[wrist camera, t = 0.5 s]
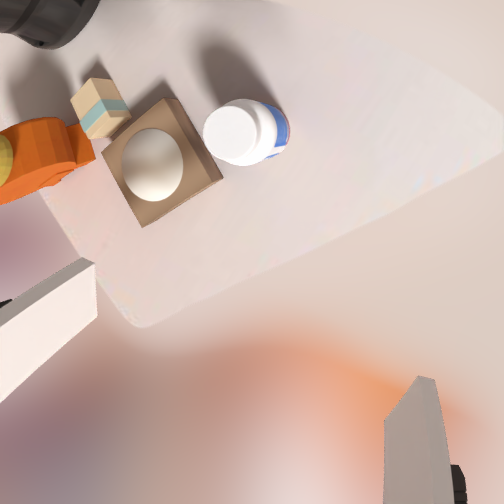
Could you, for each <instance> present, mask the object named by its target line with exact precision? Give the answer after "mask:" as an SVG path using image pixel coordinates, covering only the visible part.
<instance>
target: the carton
mask: <svg viewBox="0 0 504 504" xmlns="http://www.w3.org/2000/svg"><path fill="white" fill-rule="evenodd" d="M70 101H71V103H72V105H73V107H74V110H75V112H76V114H77V116H78V118H79V120H80V125H81V127H82V129H83V131H84V133H86V135H87V137H88V139H95V138H104V137H111V136H112V135H113V134H114V133H115V132H116V131H117V130H118V129H119V128H120V127H121V126H123V125H124V124H125V123H126V122H127V121H128V120H129V119H130V118H132V116H131V114H130V112H129V111H128V108H127V106H126V104H125V102H124V100H123V99H122V97H121V96H120V94H119V92H118V90H117V88H116V86H115V84H114V82H113V80H109V79H100V78H89V80H88V81H87V82H86V83H85V84H84V85H83V86H82V87H81V88H80V89H79V91H78V92H77V93H76V94H75V95H74V96H73V97H72V99H71V100H70Z"/></svg>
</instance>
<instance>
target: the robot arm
mask: <svg viewBox="0 0 504 504" xmlns="http://www.w3.org/2000/svg"><path fill="white" fill-rule="evenodd" d="M99 1H100V0H0V33H9V34H13V35H15V36H17V37H18V38H20V39H22V40H24V41H25V42H27V43H29V44H31V45H32V46H34V47H37V48H42V49H57V48H60V47H62V46H64V45H65V44H67V43H68V42H70V41H71V40H72V39H73V38H75V37H76V36H77V35H78V34H79V33H80V31H81V30H82V29H83V28H84V27H85V25H86V24H87V23H88V21H89V20H90V18H91V17H92V15H93V13H94V11H95V10H96V8H97V6H98V3H99ZM96 317H97V301H96V278H95V263H94V262H91V261H89V260H87V259H85V258H83V257H82V258H80V259H78V260H77V261H75V262H74V263H71V264H70V265H68V266H66V267H65V268H63V269H62V270H60V271H58V272H56V273H55V274H53V275H52V276H50V277H48V278H47V279H45V280H44V281H42V282H40V283H39V284H37V285H36V286H34V287H32V288H31V289H29V290H28V291H26V292H25V293H23V294H21V295H20V296H18V297H17V298H15V299H14V300H12V299H10V300H6V301H3V302H0V403H1V401H3V400H4V399H5V398H6V397H7V396H8V395H9V394H10V393H11V392H12V391H13V390H15V389H16V388H17V387H18V386H19V385H20V384H21V383H22V382H23V381H24V380H25V379H27V377H29V376H30V375H31V374H32V373H33V372H34V371H35V370H36V369H38V368H39V367H40V366H41V365H42V364H43V363H44V362H45V361H46V360H48V359H49V358H50V357H51V356H52V355H53V354H54V353H56V352H57V351H58V350H59V349H60V348H61V347H62V346H64V345H65V344H66V343H67V342H68V341H69V340H70V339H71V338H73V337H74V336H75V335H76V334H77V333H78V332H80V331H81V330H82V329H83V328H84V327H86V326H87V325H88V324H89V323H90V322H91V321H93V320H94V319H95V318H96ZM384 445H385V446H384V449H385V450H384V453H385V454H384V492H383V504H467V493H466V483H465V477H464V475H463V473H462V471H461V469H460V467H459V465H450V459H449V452H448V445H447V439H446V433H445V427H444V422H443V417H442V411H441V406H440V402H439V397H438V393H437V388H436V384H435V380H434V379H431V378H426V377H422V376H418V377H417V378H416V379H415V381H414V382H413V384H412V385H411V386H410V388H409V389H408V391H407V392H406V393H405V394H404V396H403V397H402V398H401V400H400V401H399V403H398V404H397V405H396V406H395V408H394V409H393V410H392V411H391V413H390V414H389V415H388V416H387V418H386V419H385V420H384Z"/></svg>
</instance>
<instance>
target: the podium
mask: <svg viewBox="0 0 504 504" xmlns="http://www.w3.org/2000/svg"><path fill="white" fill-rule="evenodd" d="M101 153H102V155H103V157H104V159H105V161H106V163H107V165H108V167H109V169H110V171H111V173H112V175H113V176H114V178H115V180H116V182H117V184H118V186H119V188H120V189H121V191H122V193H123V195H124V197H125V199H126V200H127V202H128V204H129V206H130V208H131V209H132V211H133V213H134V215H135V216H136V218H137V220H138V222H139V223H140V225H141V227H142V228H143V227H145V226H147V225H149V224H151V223H153V222H154V221H156V220H158V219H159V218H161V217H162V216H164V215H165V214H167V213H168V212H170V211H172V210H173V209H175V208H176V207H178V206H179V205H181V204H182V203H184V202H186V201H187V200H189V199H190V198H192V197H194V196H195V195H197V194H198V193H200V192H202V191H203V190H205V189H206V188H208V187H210V186H211V185H213V184H215V183H216V182H218V181H219V180H221V179H223V176H222V174H221V172H220V171H219V169H218V167H217V166H216V164H215V162H214V160H213V159H212V157H211V155H210V153H209V152H208V150H207V148H206V147H205V145H204V143H203V141H202V140H201V138H200V136H199V135H198V133H197V131H196V129H195V128H194V126H193V124H192V123H191V121H190V119H189V117H188V116H187V114H186V112H185V111H184V109H183V107H182V106H181V104H180V102H179V100H178V99H170V98H163V99H161V100H160V101H159V102H158V103H156V104H155V105H154V106H153V107H151V108H150V109H149V110H148V111H147V112H145V113H144V114H143V115H142V116H141V117H140V118H138V119H137V120H136V121H135V122H134V123H133V124H131V125H130V126H129V127H128V128H127V129H126V130H125V131H124V132H122V133H121V134H120V135H119V136H118V137H117V138H116V139H115V140H114V141H113V142H112V143H111V144H109V145H108V146H107V147H106V148H105V149H104V150H103V151H102V152H101Z"/></svg>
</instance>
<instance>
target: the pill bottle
mask: <svg viewBox="0 0 504 504" xmlns="http://www.w3.org/2000/svg"><path fill="white" fill-rule="evenodd" d="M289 138H290V125H289V122H288V120H287V118H286V116H285V115H284V114H283V113H282V112H281V111H280V110H279V109H277V108H276V107H274V106H271V105H268V104H265V103H261V102H258V101H254V100H250V99H236V100H233V101H230V102H228V103H226V104H224V105H223V106H222V107H220V108H218V109H216V110H214V111H213V112H212V113H211V114H210V115H209V116H208V118H207V119H206V121H205V124H204V127H203V140H204V143H205V145H206V147H207V149H208V150H209V152H210V153H211V154H212V155H214V156H215V157H217V158H219V159H221V160H225V161H227V162H228V163H231V164H234V165H239V166H247V165H252V164H255V163H258V162H261V161H263V160H266V159H269V158H271V157H274V156H276V155H277V154H279V153H280V152H281V151H282V150H283V149H284V148H285V147H286V145H287V143H288V141H289Z"/></svg>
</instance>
